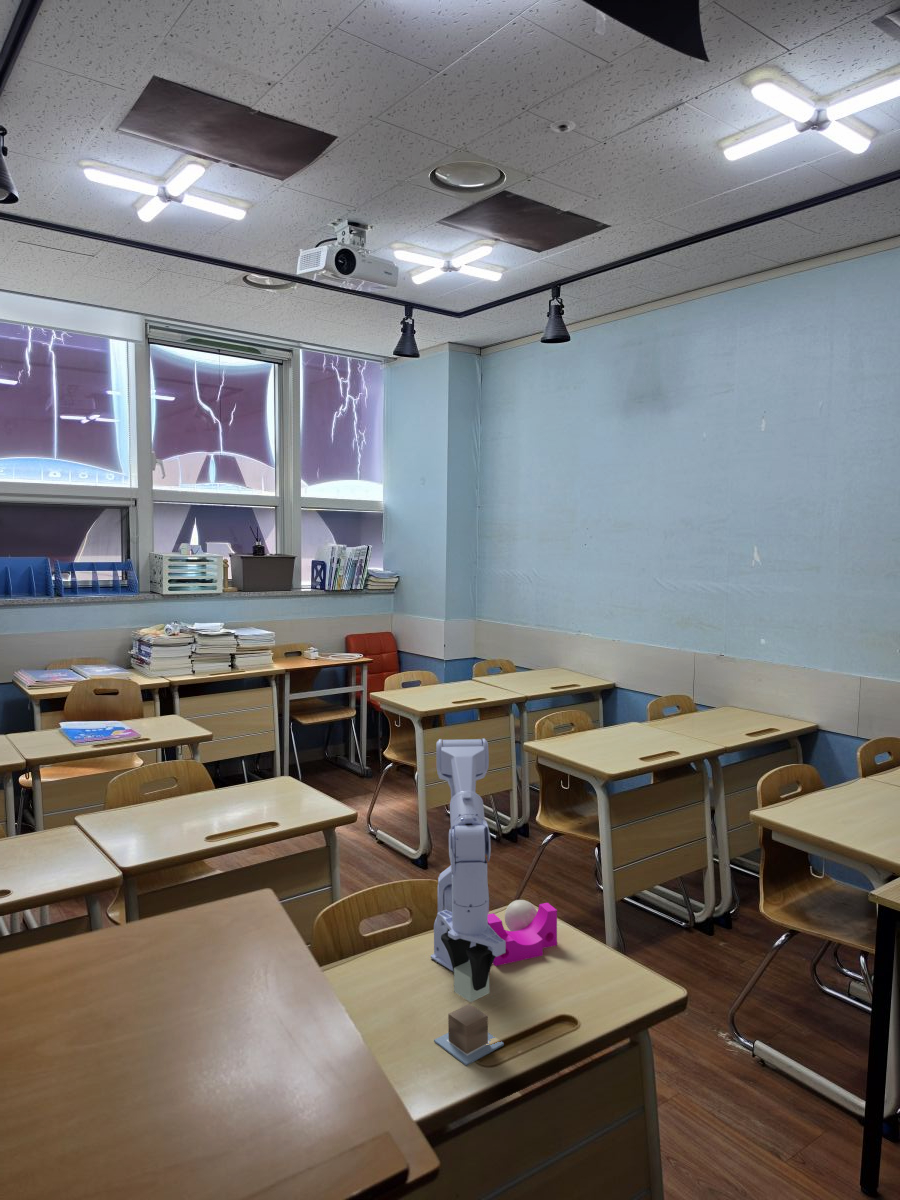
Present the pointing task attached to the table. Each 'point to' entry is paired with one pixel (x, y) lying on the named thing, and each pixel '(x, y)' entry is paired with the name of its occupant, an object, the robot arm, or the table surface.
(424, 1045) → the table surface
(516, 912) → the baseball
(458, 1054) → the pad
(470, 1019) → the walnut cube
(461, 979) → the sage cube
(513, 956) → the toy block
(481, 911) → the robot arm
